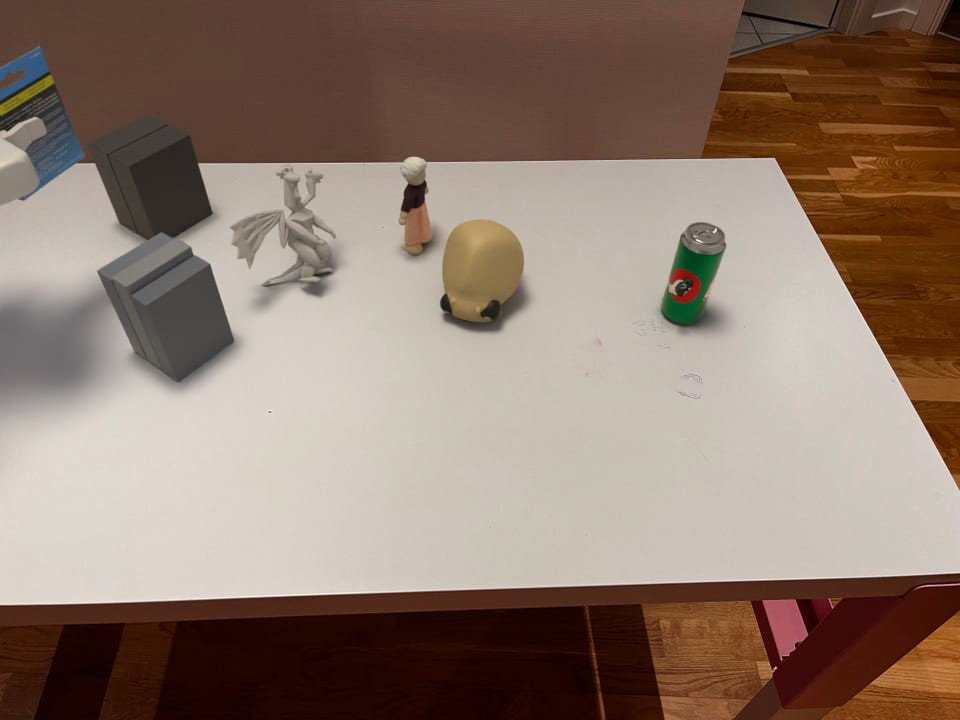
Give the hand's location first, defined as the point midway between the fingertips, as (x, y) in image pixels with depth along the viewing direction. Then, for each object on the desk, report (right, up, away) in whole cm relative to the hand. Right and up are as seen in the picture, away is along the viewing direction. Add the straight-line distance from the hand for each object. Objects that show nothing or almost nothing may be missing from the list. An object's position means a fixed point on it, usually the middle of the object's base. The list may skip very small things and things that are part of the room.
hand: (23, 113), depth 73 cm
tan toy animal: (+45, -17, +18) cm, 51 cm away
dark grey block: (+2, -5, +27) cm, 28 cm away
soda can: (+69, -19, +18) cm, 74 cm away
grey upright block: (+11, -23, +12) cm, 28 cm away
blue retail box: (-1, -5, +4) cm, 7 cm away
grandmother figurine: (+37, -9, +26) cm, 46 cm away
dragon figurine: (+23, -13, +21) cm, 34 cm away
